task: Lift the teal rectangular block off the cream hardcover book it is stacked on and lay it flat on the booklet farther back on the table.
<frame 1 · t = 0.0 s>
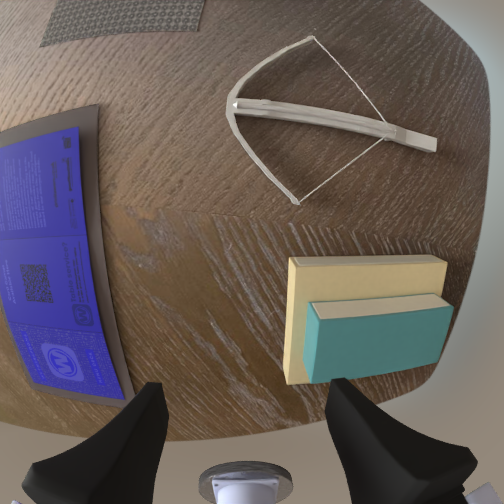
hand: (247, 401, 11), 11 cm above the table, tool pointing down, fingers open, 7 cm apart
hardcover: (361, 312, 23), on the table, touching teal rectangular block
teal rectangular block: (372, 326, 21), point 2 cm above the table, touching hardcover
crossbow: (337, 123, 20), on the table
booklet: (41, 280, 21), on the table
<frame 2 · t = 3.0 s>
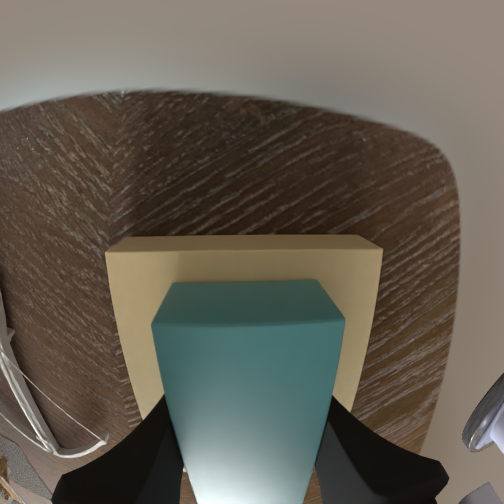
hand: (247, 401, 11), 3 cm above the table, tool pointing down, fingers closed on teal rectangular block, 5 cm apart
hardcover: (244, 365, 14), on the table
teal rectangular block: (246, 400, 11), point 3 cm above the table, touching gripper
crossbow: (26, 378, 14), on the table
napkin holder: (7, 461, 18), on the table
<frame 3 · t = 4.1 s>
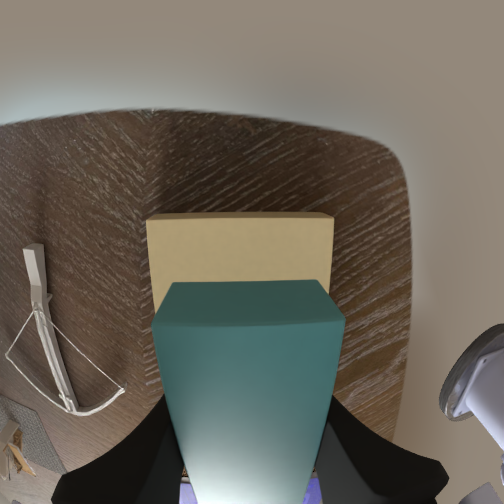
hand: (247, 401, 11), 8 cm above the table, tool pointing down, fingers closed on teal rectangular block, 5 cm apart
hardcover: (240, 311, 19), on the table
teal rectangular block: (246, 400, 11), point 8 cm above the table, touching gripper
crossbow: (56, 338, 19), on the table
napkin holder: (22, 434, 23), on the table
booklet: (221, 502, 26), on the table
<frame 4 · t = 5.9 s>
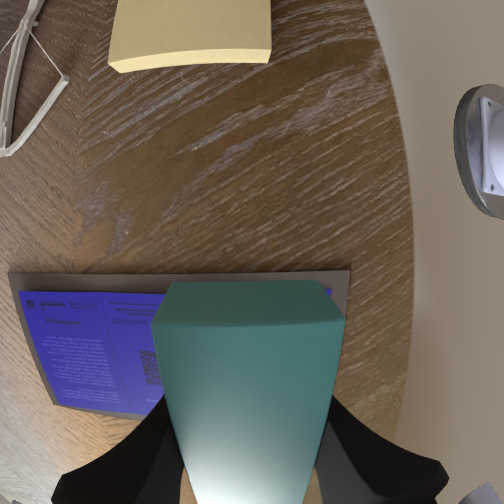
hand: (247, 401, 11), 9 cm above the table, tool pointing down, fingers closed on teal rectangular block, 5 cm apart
teal rectangular block: (246, 400, 11), point 9 cm above the table, touching gripper
crossbow: (22, 65, 15), on the table
booklet: (162, 361, 21), on the table
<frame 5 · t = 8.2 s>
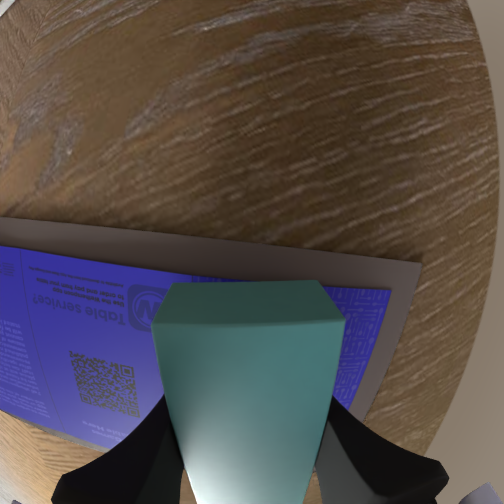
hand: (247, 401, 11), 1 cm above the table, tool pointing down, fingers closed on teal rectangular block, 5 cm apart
teal rectangular block: (246, 400, 11), point 1 cm above the table, touching gripper
booklet: (103, 373, 12), on the table
when the fingers open (0 cm above the table, at t = 9.0 s): teal rectangular block stays where it is, resting on booklet.
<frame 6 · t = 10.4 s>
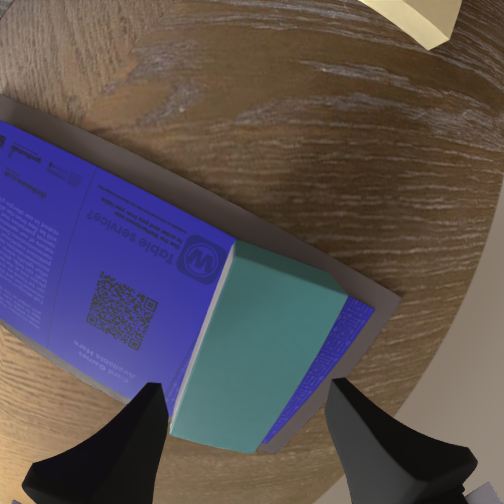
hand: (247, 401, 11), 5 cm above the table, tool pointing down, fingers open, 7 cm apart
teal rectangular block: (244, 347, 15), resting on booklet
booklet: (122, 301, 15), on the table, touching teal rectangular block
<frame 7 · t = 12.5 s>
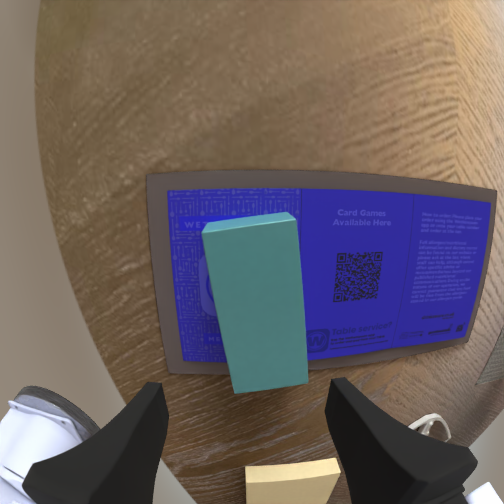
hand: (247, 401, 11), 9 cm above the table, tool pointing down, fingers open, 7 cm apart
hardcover: (286, 487, 27), on the table
teal rectangular block: (258, 298, 20), resting on booklet
crossbow: (402, 454, 27), on the table
booklet: (357, 280, 20), on the table, touching teal rectangular block
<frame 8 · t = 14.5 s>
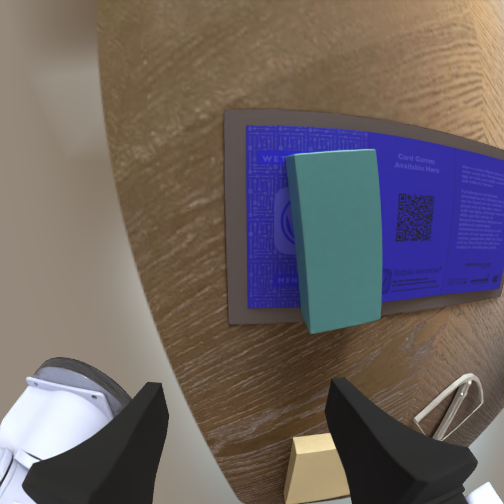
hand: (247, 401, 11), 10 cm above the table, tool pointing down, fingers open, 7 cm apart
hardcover: (329, 461, 27), on the table
teal rectangular block: (330, 235, 20), resting on booklet
crossbow: (440, 420, 27), on the table
booklet: (413, 222, 20), on the table, touching teal rectangular block
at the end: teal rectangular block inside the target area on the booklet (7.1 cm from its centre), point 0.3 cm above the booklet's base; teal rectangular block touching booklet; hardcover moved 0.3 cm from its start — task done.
